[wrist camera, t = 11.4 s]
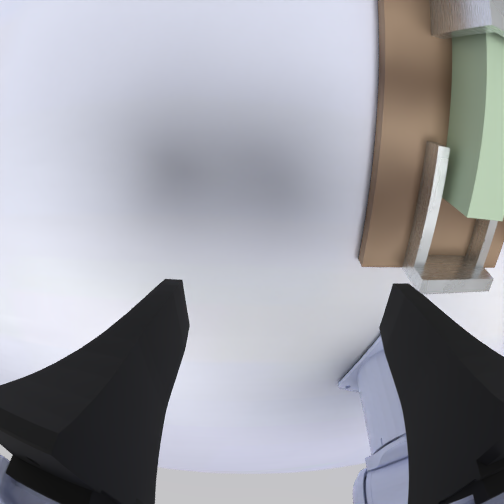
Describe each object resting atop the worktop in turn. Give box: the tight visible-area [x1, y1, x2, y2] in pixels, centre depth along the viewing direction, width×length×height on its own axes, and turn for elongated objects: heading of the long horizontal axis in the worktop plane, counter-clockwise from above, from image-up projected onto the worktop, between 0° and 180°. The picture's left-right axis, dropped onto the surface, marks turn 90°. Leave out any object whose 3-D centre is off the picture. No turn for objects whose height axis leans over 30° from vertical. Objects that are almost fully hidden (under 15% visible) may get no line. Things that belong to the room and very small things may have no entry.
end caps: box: [402, 0, 504, 294], centre depth 11 cm, size 22×6×6 cm, turn 0°
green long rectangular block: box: [442, 32, 504, 221], centre depth 11 cm, size 13×3×4 cm, turn 0°
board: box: [358, 0, 504, 268], centre depth 14 cm, size 22×12×1 cm, turn 0°
